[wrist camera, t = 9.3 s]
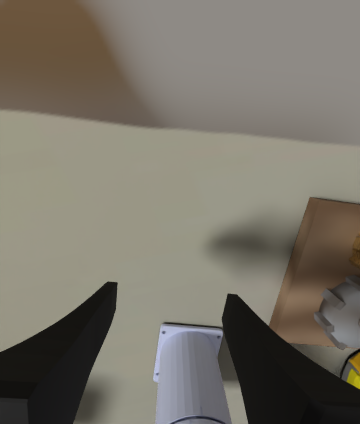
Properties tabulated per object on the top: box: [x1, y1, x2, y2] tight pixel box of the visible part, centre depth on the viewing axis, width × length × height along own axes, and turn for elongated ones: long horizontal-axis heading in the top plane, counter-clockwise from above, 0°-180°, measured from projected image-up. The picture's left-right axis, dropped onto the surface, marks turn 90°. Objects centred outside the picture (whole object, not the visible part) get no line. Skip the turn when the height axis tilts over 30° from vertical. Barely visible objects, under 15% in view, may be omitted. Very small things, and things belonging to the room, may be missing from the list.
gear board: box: [269, 197, 360, 350], centre depth 21 cm, size 18×14×4 cm
